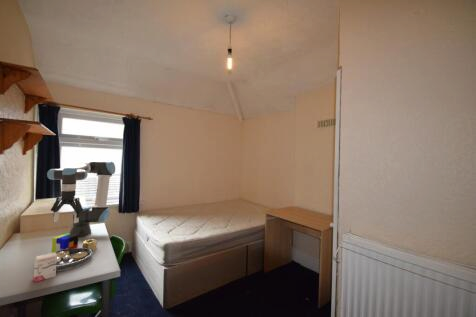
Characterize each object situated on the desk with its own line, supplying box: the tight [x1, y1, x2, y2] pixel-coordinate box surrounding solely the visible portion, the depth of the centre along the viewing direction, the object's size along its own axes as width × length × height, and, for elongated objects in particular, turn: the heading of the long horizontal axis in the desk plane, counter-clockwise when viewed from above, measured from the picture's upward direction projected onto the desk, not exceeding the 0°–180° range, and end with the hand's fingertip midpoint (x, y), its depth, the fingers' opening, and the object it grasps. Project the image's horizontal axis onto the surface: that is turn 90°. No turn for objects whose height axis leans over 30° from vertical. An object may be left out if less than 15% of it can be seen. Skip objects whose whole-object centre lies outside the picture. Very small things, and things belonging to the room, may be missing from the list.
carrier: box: [53, 247, 93, 273], centre depth 129 cm, size 26×26×6 cm
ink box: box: [32, 252, 57, 283], centre depth 111 cm, size 9×5×12 cm, turn 139°
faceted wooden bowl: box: [81, 238, 98, 252], centre depth 148 cm, size 8×8×6 cm
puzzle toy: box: [51, 233, 79, 253], centre depth 145 cm, size 10×10×10 cm
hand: (66, 222), depth 137 cm, fingers open, 13 cm apart
